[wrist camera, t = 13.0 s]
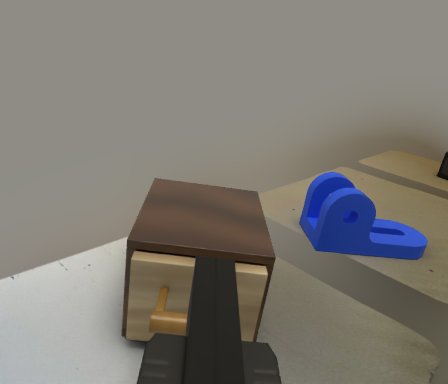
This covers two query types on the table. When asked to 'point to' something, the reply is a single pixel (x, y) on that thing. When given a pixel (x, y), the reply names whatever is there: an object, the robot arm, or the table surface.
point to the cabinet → (201, 228)
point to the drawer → (182, 294)
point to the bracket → (353, 222)
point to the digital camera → (444, 168)
